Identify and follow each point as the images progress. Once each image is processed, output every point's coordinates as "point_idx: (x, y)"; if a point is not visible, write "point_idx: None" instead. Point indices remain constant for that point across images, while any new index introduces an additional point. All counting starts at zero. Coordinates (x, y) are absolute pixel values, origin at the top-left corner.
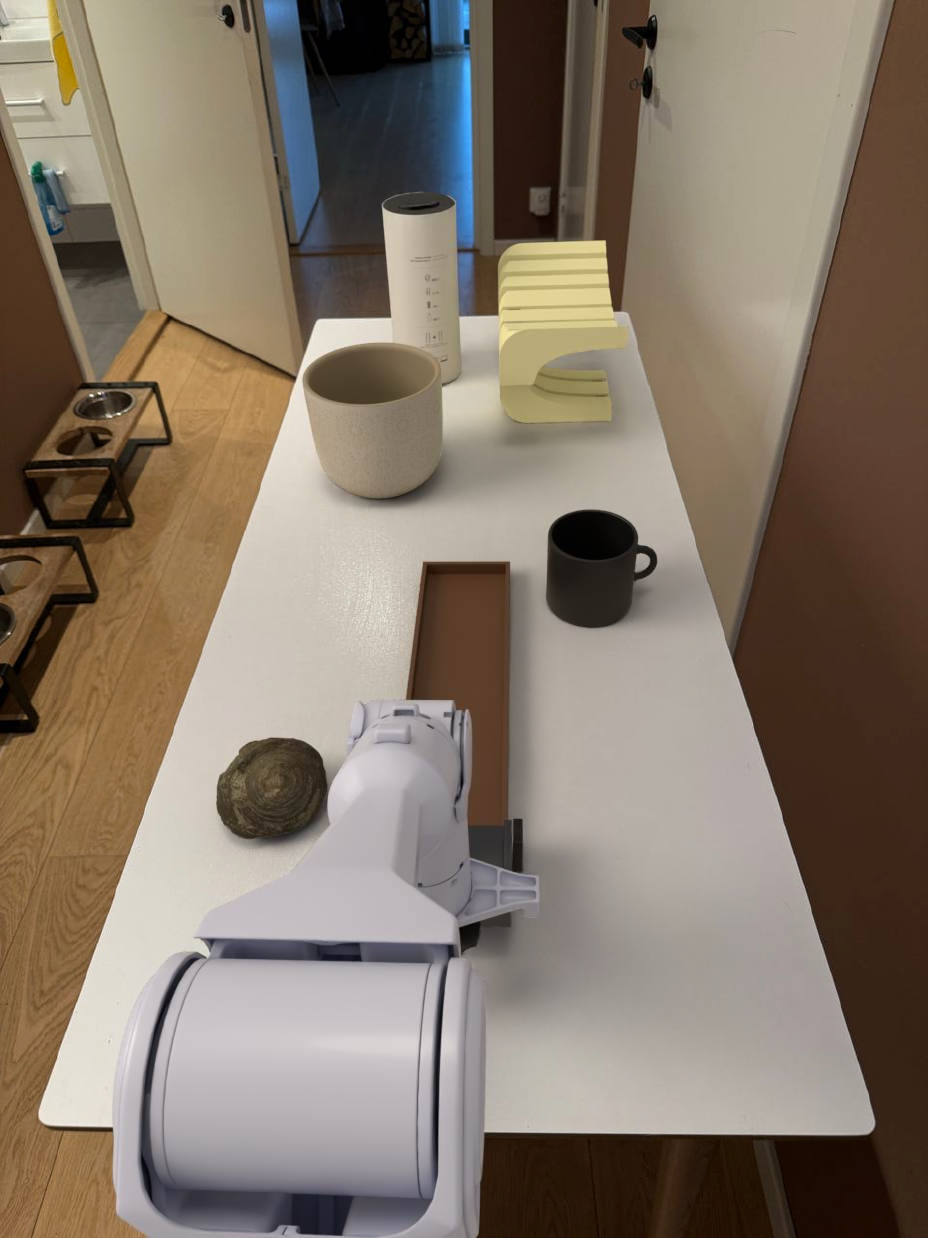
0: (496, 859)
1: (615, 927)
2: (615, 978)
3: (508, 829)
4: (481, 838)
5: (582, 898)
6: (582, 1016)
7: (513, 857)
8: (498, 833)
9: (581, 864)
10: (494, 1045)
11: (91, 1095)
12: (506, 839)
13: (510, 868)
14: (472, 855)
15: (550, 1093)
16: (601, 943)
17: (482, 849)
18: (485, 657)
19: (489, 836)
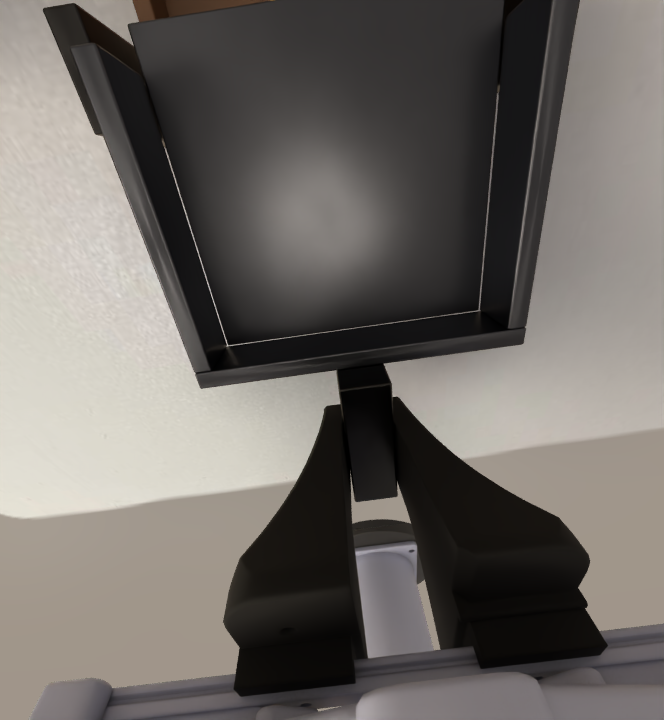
0: (474, 134)
1: (639, 209)
2: (602, 300)
3: (563, 30)
4: (432, 47)
5: (601, 150)
6: (539, 356)
7: (499, 85)
8: (485, 10)
9: (631, 43)
10: (425, 403)
11: (21, 505)
12: (548, 90)
13: (542, 218)
14: (408, 130)
15: (484, 433)
16: (602, 245)
17: (435, 98)
18: None
19: (456, 31)
